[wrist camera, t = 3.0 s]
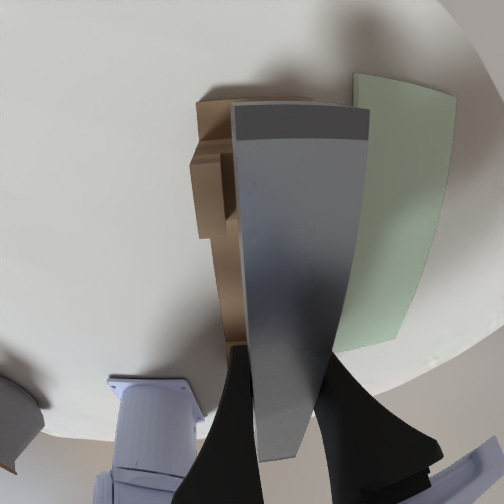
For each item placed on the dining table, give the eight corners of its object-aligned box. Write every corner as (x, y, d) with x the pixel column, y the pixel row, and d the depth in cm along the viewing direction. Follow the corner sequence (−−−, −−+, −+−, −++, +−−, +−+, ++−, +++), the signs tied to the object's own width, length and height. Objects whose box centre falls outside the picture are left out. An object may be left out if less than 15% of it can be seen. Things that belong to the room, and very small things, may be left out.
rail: (290, 432, 16) (295, 457, 15) (255, 437, 16) (259, 462, 14) (329, 102, 6) (369, 109, 4) (229, 102, 6) (234, 106, 4)
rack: (291, 357, 22) (305, 411, 17) (231, 364, 21) (235, 421, 17) (305, 97, 12) (354, 104, 7) (197, 101, 11) (183, 107, 7)
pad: (392, 334, 22) (395, 338, 22) (321, 349, 22) (323, 354, 21) (450, 95, 11) (456, 97, 11) (353, 73, 11) (358, 73, 10)
